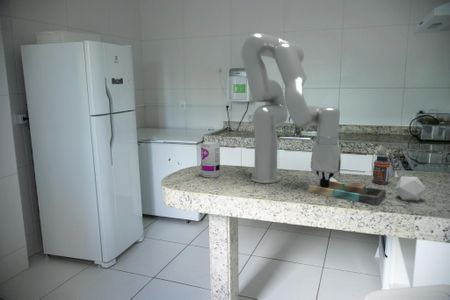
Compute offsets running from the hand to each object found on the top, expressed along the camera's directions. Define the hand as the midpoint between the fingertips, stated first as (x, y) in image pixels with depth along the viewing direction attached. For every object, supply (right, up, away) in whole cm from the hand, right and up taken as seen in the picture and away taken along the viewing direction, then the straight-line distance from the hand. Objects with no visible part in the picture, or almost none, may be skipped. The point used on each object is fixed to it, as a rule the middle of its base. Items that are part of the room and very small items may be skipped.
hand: (324, 188), depth 124 cm
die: (+26, -3, -10) cm, 28 cm away
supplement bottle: (+26, +1, +10) cm, 28 cm away
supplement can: (-44, +3, +23) cm, 50 cm away
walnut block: (+9, -2, -5) cm, 11 cm away
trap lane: (+7, -2, -5) cm, 8 cm away
